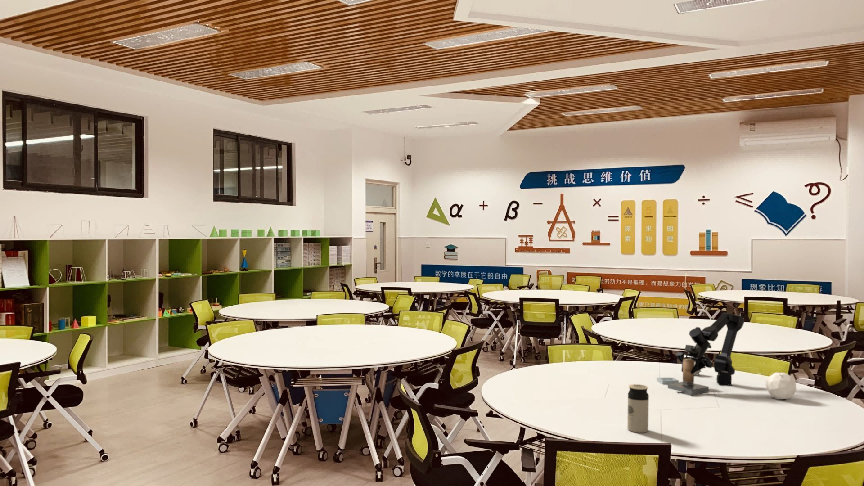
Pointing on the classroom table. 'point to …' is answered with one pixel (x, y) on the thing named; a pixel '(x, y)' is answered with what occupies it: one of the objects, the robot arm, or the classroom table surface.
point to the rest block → (667, 380)
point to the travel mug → (638, 408)
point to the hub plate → (689, 388)
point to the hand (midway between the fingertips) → (686, 372)
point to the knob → (688, 372)
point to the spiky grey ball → (697, 371)
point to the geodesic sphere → (781, 386)
